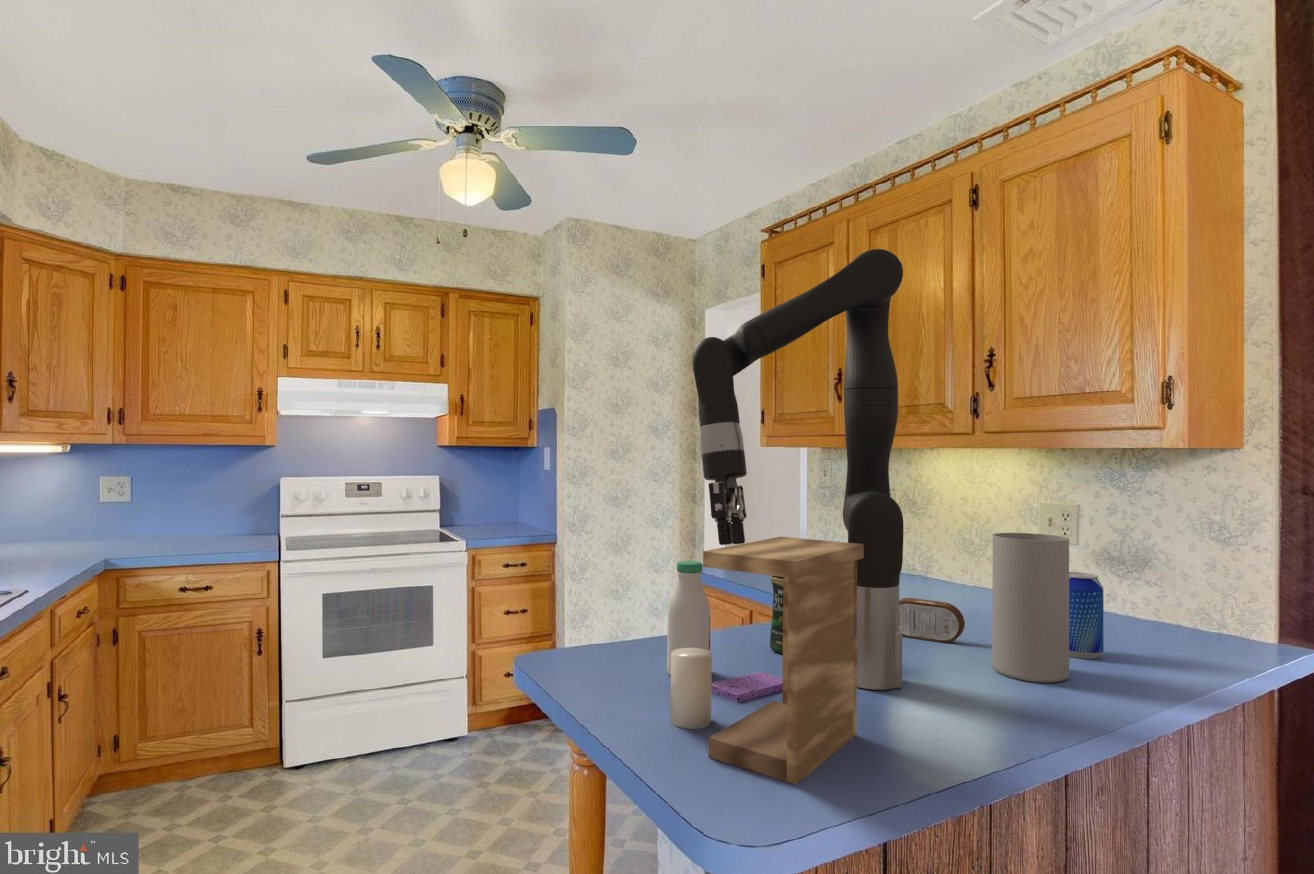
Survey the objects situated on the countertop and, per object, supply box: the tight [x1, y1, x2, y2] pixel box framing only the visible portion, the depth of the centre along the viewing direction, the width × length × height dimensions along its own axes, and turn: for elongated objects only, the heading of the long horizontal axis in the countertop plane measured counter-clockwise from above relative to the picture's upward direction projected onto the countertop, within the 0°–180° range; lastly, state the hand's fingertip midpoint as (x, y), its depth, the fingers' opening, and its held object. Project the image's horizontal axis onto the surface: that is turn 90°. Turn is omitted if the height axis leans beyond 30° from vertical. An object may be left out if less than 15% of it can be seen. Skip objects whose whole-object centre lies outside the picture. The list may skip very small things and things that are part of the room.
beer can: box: [1069, 571, 1105, 660], centre depth 145 cm, size 8×8×16 cm
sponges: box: [711, 671, 783, 703], centre depth 121 cm, size 7×13×2 cm, turn 127°
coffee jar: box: [769, 575, 783, 655], centre depth 144 cm, size 10×8×19 cm
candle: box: [670, 648, 713, 730], centre depth 107 cm, size 6×6×10 cm
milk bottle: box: [666, 560, 711, 676], centre depth 130 cm, size 8×8×20 cm
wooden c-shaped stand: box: [702, 536, 864, 785], centre depth 98 cm, size 13×22×27 cm, turn 143°
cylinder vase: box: [991, 532, 1070, 684], centre depth 132 cm, size 12×12×25 cm
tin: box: [899, 597, 965, 644], centre depth 155 cm, size 15×3×8 cm, turn 58°
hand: (732, 544), depth 124 cm, fingers open, 8 cm apart
